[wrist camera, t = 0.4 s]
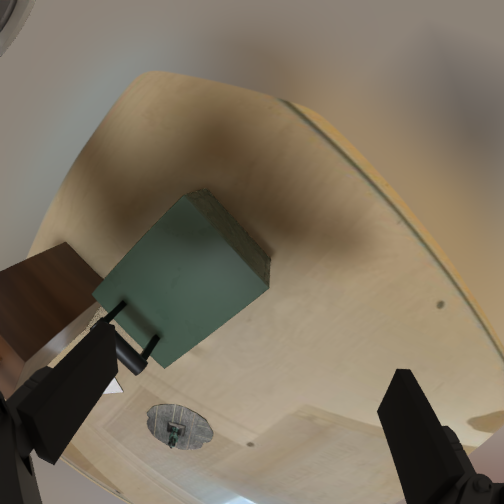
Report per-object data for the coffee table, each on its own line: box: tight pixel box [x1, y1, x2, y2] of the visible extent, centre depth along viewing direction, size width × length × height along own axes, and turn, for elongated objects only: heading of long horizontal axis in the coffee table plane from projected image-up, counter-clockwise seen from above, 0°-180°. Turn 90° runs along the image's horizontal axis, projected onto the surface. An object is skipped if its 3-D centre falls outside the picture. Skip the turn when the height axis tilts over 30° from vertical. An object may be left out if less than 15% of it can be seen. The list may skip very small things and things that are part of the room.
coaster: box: [103, 378, 123, 394], centre depth 46 cm, size 8×8×1 cm
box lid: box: [90, 195, 269, 376], centre depth 28 cm, size 15×12×7 cm
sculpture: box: [147, 404, 213, 450], centre depth 48 cm, size 12×9×8 cm
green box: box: [186, 188, 271, 284], centre depth 35 cm, size 15×12×9 cm
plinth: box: [0, 242, 103, 400], centre depth 32 cm, size 10×10×20 cm
